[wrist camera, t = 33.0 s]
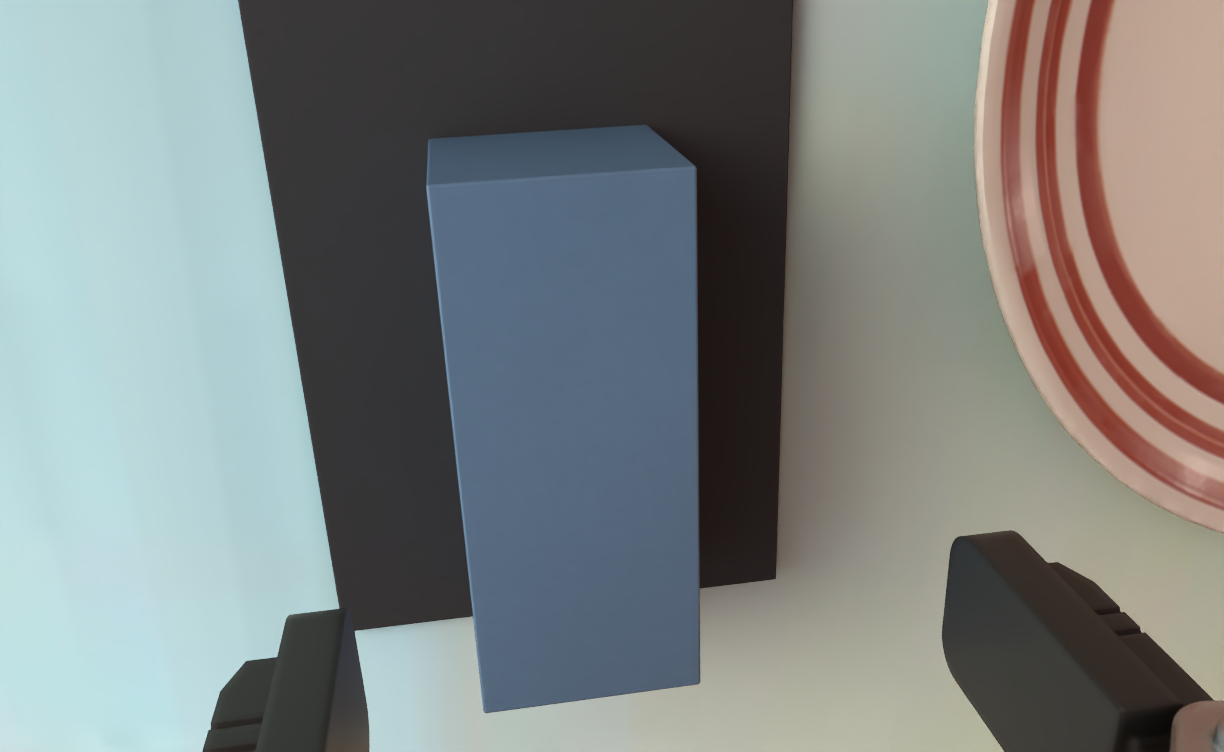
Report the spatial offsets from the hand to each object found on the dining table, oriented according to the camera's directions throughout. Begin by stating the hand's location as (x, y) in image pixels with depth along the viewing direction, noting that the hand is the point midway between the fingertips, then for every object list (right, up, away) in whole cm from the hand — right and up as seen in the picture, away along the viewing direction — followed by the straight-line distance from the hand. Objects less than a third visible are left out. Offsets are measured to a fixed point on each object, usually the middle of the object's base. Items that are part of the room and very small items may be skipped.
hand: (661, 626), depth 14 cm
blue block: (-1, -3, +12) cm, 13 cm away
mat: (-2, +5, +12) cm, 13 cm away
